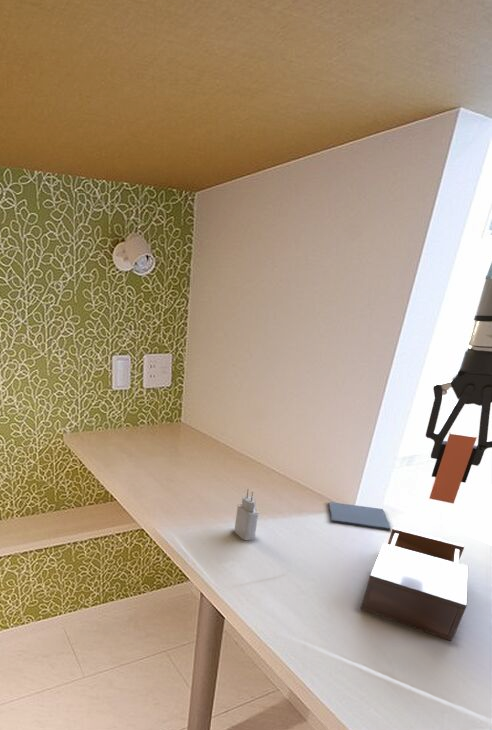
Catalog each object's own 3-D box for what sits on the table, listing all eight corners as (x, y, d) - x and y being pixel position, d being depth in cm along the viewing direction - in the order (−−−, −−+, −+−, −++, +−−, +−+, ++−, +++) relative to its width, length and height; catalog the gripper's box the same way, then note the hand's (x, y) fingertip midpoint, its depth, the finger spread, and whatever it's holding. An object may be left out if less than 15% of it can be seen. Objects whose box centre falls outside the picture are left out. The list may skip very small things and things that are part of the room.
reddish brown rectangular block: (431, 490, 88) (451, 427, 83) (454, 495, 86) (476, 431, 81) (429, 498, 84) (450, 433, 79) (453, 503, 82) (476, 437, 77)
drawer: (389, 541, 103) (395, 520, 101) (456, 559, 96) (464, 537, 94) (376, 575, 90) (383, 552, 88) (452, 599, 83) (462, 574, 81)
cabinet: (374, 573, 93) (383, 542, 89) (455, 598, 85) (468, 566, 82) (360, 608, 82) (370, 575, 79) (451, 641, 74) (466, 605, 71)
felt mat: (382, 510, 121) (382, 509, 120) (390, 530, 110) (390, 528, 110) (328, 503, 125) (329, 501, 124) (331, 521, 114) (331, 519, 114)
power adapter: (244, 540, 104) (251, 495, 99) (233, 530, 109) (238, 486, 104) (255, 538, 105) (262, 493, 100) (244, 528, 110) (249, 485, 105)
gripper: (431, 347, 75) (396, 473, 85) (560, 354, 66) (504, 494, 76) (434, 344, 81) (401, 463, 91) (554, 350, 72) (502, 481, 82)
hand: (448, 477), depth 84 cm, fingers closed on reddish brown rectangular block, 4 cm apart
